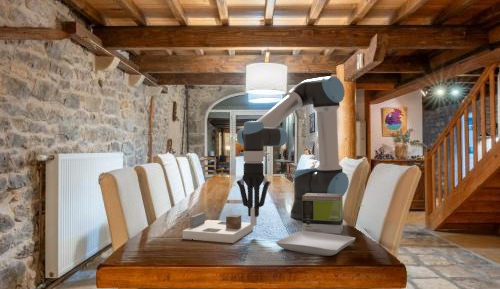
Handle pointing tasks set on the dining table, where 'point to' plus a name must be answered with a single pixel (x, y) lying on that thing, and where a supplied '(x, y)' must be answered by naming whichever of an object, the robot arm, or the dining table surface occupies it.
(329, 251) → the salad plate
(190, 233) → the platform
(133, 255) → the dining table surface
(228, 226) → the walnut block
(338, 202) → the tea box
